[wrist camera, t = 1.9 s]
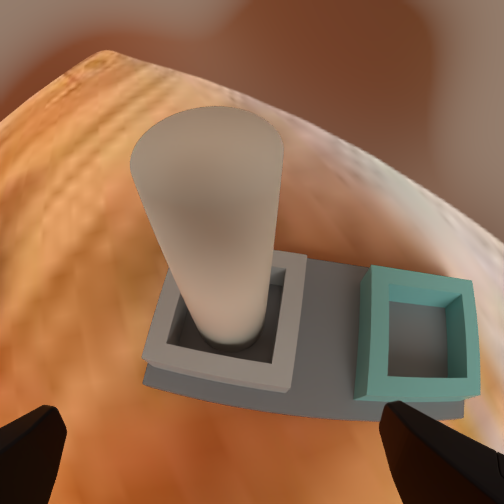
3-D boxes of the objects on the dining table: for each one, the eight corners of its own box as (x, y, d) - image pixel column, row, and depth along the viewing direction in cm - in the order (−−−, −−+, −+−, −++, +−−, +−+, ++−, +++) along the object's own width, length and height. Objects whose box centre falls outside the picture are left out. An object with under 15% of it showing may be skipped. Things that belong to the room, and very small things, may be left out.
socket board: (146, 386, 19) (128, 377, 16) (187, 246, 25) (179, 219, 22) (455, 419, 17) (484, 413, 14) (452, 286, 23) (473, 266, 20)
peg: (220, 365, 19) (169, 236, 7) (185, 311, 21) (112, 142, 9) (278, 327, 20) (316, 160, 8) (239, 277, 22) (230, 93, 10)
